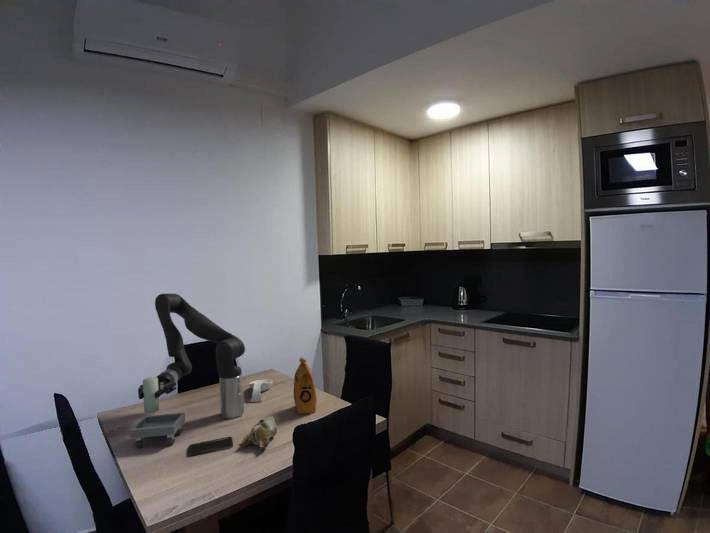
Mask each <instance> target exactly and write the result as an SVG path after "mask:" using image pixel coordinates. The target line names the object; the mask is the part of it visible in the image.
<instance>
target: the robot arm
mask: <svg viewBox="0 0 710 533" xmlns="http://www.w3.org/2000/svg"><path fill="white" fill-rule="evenodd" d="M154 306H155V307H154V308H155V311H156V314H157V317H158V320H159V323H160V325H161V328H162V331H163V333H164V337H165V341H166V342H165V343H166V349H167V354H168V355H167V356H169V357H170V358H178V359H179V360H178V361H175V362H171V363H169V364H168V365H167V366H166V369H165V370H164V371H162V372H161V373H160V374H158V375H157V376H156V377H157V378H158V391H156V392H155V398H158V397H159V398H160V397H161V396H163V395H169V394H170V393H172V392H174V391H175V390H177V382H178V381H179V380H180V379H181V378H182V377H184V376H187V375H190V374H191V372H192V370H193V365H192V362H191V361H190V359H189V357H188V354H187V352H186V350H185V343H184V339H183V336H182V334H181V332H180V330H179V328H177V327H176V325H175V323H174V322H173V320H172V319H173V318H172V316H171V314H176V315H178V316H179V317H181V318H182V319H183V321H184V322H183V323H184V325H185V328H186V329H187V330H188V331H189V332H190V333H192V335H193V336H195V337H196V338H197V337H198V338H199V339H203V340H205V341H210V342H213V343H216V346H215V362H216V369H217V372H218V376H219V397H220V398H219V400H220V417H221V418H223V419H235V418H238V417H242V416H243V414H244V413H245V412H244V411H245V401H244V389H243V384H242V383H243V379H242V376H243V375H242V368H241V367H240V366H237V365H235V364H234V360H235V359H238V358H240V357H242V356H243V355H244V354H245V352H246V348H245V344H244V342H243V341H242V340H241V339H240V338H239V337H237V336H236V335H234V334H232V333H230V332H229V331H227V330H225V329H224V328H222V327H221V326H219V325H218V324H217V323H215V322H214V321H212V320H211V319H210V318H208V317H207V316H205V314H203V313H202V312H200V311H199V310H197V309H196V308H195V307H193V306H192V305H190V304H189V303H188V301H187V300H186V299H184V298H183V297H182V296H181V295H179V294H178V293H160V294H158V295H157V296H156V298H155V300H154ZM137 393H138V394H137V396H138V400H142V399H143V400H144V394H143V384H140V385H139V387H138V389H137Z"/></svg>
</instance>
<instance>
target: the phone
mask: <svg viewBox="0 0 710 533" xmlns="http://www.w3.org/2000/svg"><path fill="white" fill-rule="evenodd" d="M233 447H234V442H233V437H232V436H226V437H222V438H216V439H211V440H206V441H201V442H195V443H191V444H190V445H189V446H188V450H187V452H188V453H187V457H196V456H200V455H205V454H209V453H214V452H221V451H225V450H228V449H232V448H233Z"/></svg>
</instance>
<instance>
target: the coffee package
mask: <svg viewBox="0 0 710 533" xmlns="http://www.w3.org/2000/svg"><path fill="white" fill-rule="evenodd" d="M298 360H299V362H300V363H299V366H298V367H297V369H296V371H295V373H294V379H293V401H294V406H295V407H296V411H297V413H298V414H299V415H308V414H315V413H316V412H317V405H318V404H317V390H316V385H315V381H314V377H313V376H312V373H311V369H310V366H309V365H308V364H307V360H306V359H305V358H303V357H299V359H298Z"/></svg>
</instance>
